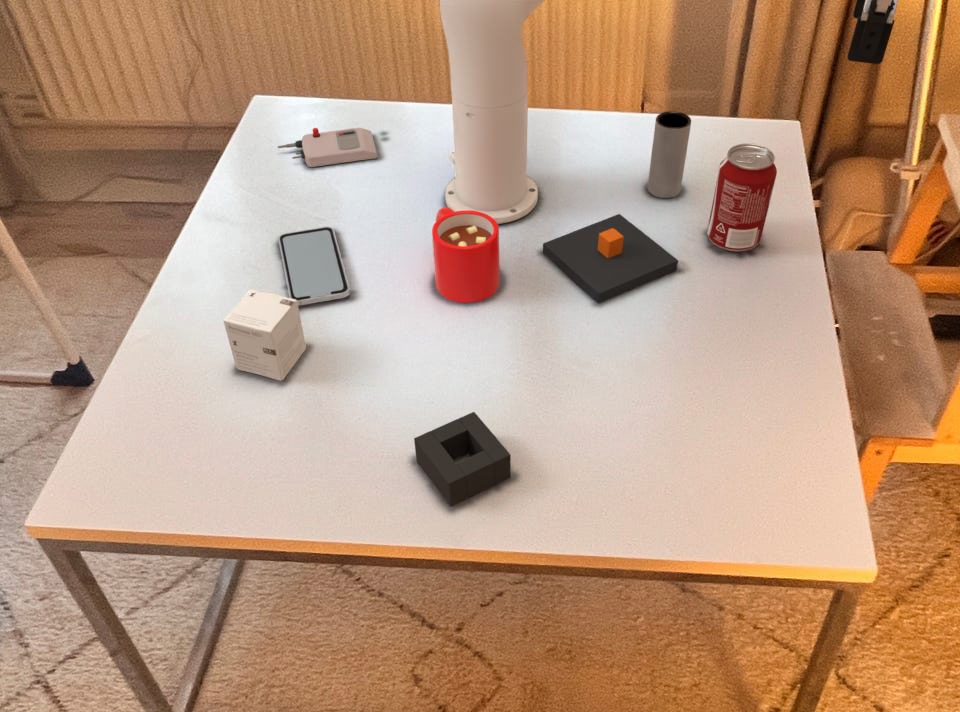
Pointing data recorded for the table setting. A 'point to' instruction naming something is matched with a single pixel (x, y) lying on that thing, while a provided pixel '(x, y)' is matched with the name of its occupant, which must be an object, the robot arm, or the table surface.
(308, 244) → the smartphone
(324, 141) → the handheld electronic tester
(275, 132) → the table surface
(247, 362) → the product carton
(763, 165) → the soda can
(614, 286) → the base pad
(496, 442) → the black square ring block
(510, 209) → the robot arm
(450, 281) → the mug
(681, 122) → the gray hollow cylinder
